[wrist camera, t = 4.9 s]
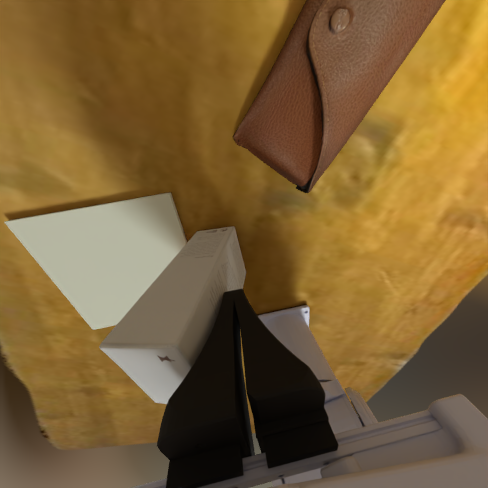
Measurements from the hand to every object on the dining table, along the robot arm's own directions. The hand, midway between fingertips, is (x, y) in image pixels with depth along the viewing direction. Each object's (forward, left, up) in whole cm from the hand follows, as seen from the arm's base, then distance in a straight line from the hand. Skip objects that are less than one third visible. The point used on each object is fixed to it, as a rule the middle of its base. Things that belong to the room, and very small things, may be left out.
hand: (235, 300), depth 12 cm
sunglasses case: (+14, -11, -9) cm, 20 cm away
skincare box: (0, +1, -8) cm, 8 cm away
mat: (0, +11, -8) cm, 14 cm away
